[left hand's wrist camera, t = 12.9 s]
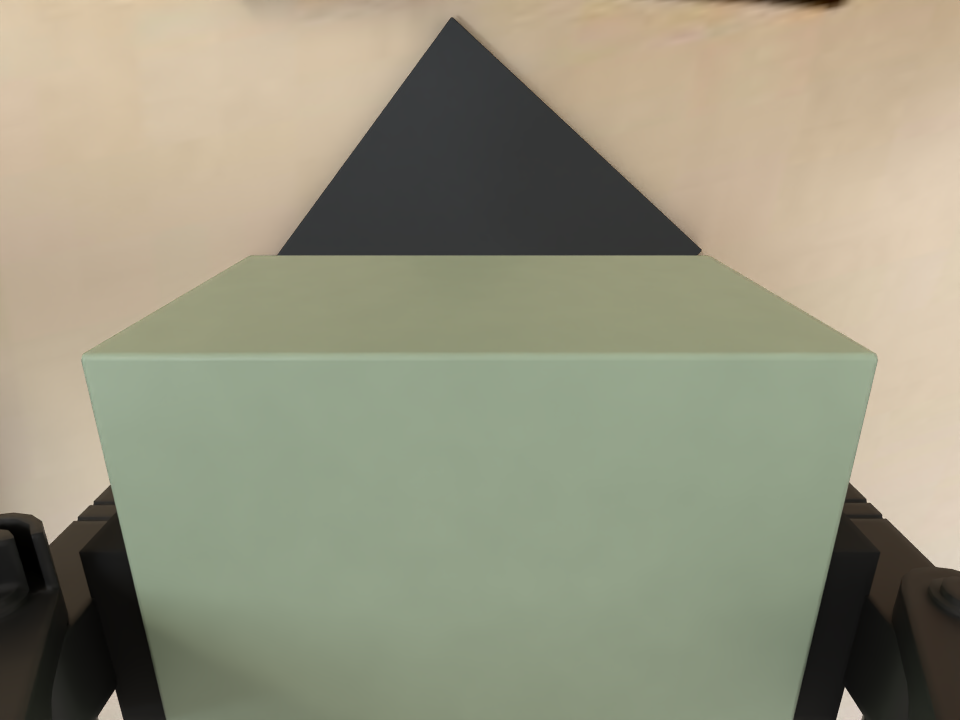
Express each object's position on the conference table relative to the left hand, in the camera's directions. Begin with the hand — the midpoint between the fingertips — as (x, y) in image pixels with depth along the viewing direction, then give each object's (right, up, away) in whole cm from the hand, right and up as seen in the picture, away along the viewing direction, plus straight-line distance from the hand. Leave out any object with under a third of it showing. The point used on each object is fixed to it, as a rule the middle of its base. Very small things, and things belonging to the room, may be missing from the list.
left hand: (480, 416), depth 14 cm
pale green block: (0, -1, -2) cm, 2 cm away
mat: (0, +5, +14) cm, 15 cm away
